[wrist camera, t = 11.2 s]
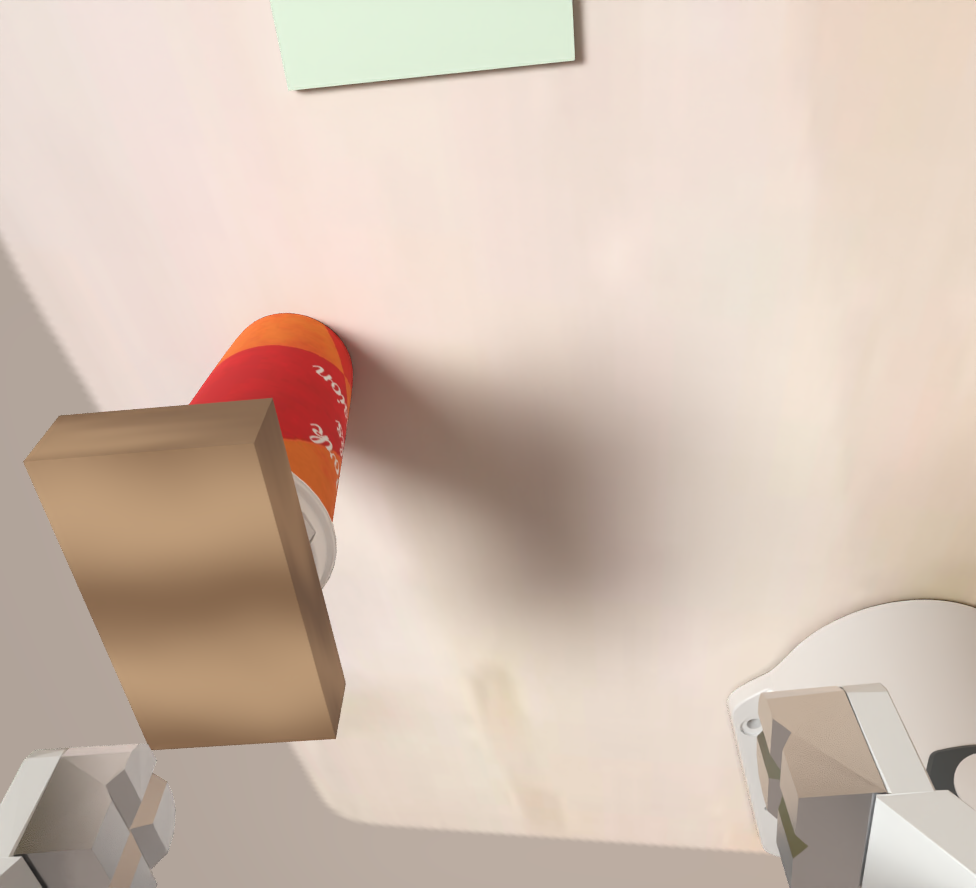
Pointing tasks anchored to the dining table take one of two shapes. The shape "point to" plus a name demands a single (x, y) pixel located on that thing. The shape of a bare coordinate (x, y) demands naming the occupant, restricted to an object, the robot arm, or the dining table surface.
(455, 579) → the dining table surface
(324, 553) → the paper cup
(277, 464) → the walnut block
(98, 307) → the dining table surface
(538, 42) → the mat
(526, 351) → the dining table surface
